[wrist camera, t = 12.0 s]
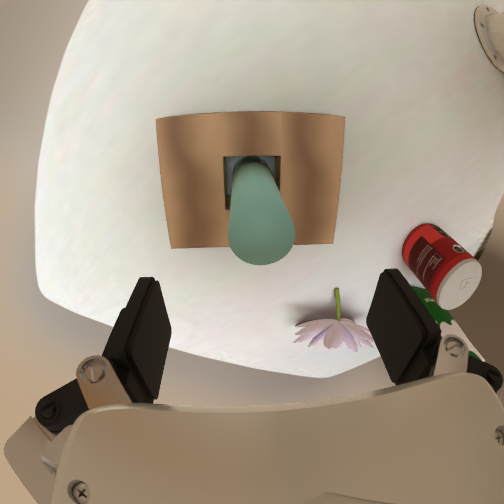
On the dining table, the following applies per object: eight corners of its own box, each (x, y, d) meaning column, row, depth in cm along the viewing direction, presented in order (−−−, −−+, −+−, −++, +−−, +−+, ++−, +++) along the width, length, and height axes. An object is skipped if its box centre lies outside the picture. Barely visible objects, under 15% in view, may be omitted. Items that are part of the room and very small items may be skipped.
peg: (269, 155, 29) (297, 204, 15) (268, 188, 31) (293, 263, 17) (232, 155, 29) (226, 205, 15) (233, 189, 31) (229, 265, 17)
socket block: (330, 114, 27) (345, 116, 23) (322, 226, 34) (332, 243, 30) (167, 116, 26) (155, 119, 22) (178, 230, 33) (171, 248, 29)
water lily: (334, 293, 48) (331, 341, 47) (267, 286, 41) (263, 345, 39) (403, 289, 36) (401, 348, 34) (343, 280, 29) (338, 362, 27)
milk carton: (437, 286, 41) (495, 368, 23) (412, 323, 45) (457, 405, 28) (406, 279, 39) (468, 374, 22) (380, 320, 44) (424, 415, 26)
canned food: (443, 250, 37) (481, 289, 27) (406, 274, 39) (440, 320, 29) (436, 212, 33) (482, 249, 24) (395, 238, 35) (436, 283, 26)
